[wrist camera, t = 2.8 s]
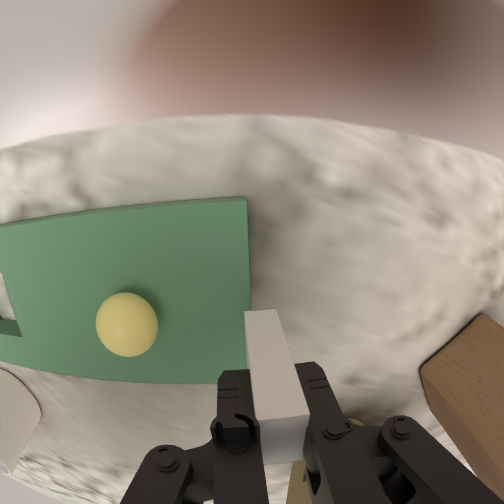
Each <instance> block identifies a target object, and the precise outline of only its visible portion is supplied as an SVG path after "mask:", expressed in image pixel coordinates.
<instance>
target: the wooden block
mask: <svg viewBox="0 0 504 504" xmlns="http://www.w3.org/2000/svg"><path fill="white" fill-rule="evenodd" d="M420 374H421V379H422V382H423V386H424V389H425V393H426V396H427V400H428V404H429V408H430V410H431V412H432V413H433V415H434V416H435V417H436V419H437V420H438V421H439V423H440V424H441V425H442V427H443V428H444V430H445V431H446V432H447V434H448V435H449V437H450V438H451V439H452V441H453V442H454V444H455V445H456V447H457V448H458V449H459V451H460V452H461V454H462V455H463V457H464V458H465V460H466V461H467V462H468V464H469V465H470V467H471V468H472V470H473V471H474V473H475V474H476V476H477V477H478V479H479V480H480V481H482V482H483V483H484V484H485V485H486V486H487V487H488V488H489V489H490V490H492V491H493V492H494V493H495V494H496V495H497V496H498V497H499V498H500V499H502V500H503V501H504V328H503V327H502V326H501V325H499V324H498V323H497V322H495V321H494V320H492V319H491V318H490V317H488V316H487V315H484V314H481V315H479V316H478V317H477V318H476V319H475V320H474V321H473V322H472V323H470V324H469V325H468V326H467V327H466V328H465V329H464V330H463V331H462V332H461V333H460V334H459V335H458V336H457V337H456V338H455V339H453V340H452V341H451V342H450V343H449V344H448V345H447V346H446V347H444V348H443V349H442V350H441V351H440V352H439V353H437V354H436V355H435V356H434V357H433V358H431V359H430V360H429V361H428V362H426V363H425V364H424V365H423V367H422V368H421V370H420Z"/></svg>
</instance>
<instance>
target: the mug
mask: <svg viewBox="0 0 504 504" xmlns="http://www.w3.org/2000/svg"><path fill="white" fill-rule="evenodd" d="M40 417H41V411H40V408H39V405H38V403H37V401H36V399H35V398H34V396H33V395H32V393H31V392H30V391H29V390H28V389H27V387H26V386H25V385H24V384H23V383H22V382H21V381H19V380H18V379H17V378H16V377H15V376H13V375H12V374H10V373H9V372H7V371H5V370H2V369H0V472H2V473H4V474H6V475H9V476H11V475H12V473H13V471H14V469H15V467H16V464H17V462H18V460H19V458H20V456H21V454H22V452H23V450H24V448H25V446H26V445H27V443H28V441H29V439H30V437H31V435H32V433H33V431H34V430H35V428H36V426H37V424H38V422H39V420H40Z"/></svg>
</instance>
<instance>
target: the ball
mask: <svg viewBox="0 0 504 504" xmlns="http://www.w3.org/2000/svg"><path fill="white" fill-rule="evenodd" d="M96 330H97V334H98V336H99V338H100V340H101V342H102V343H103V344H104V346H105V347H106V348H107V349H108V350H110V351H111V352H113V353H115V354H117V355H120V356H124V357H133V356H138V355H140V354H142V353H144V352H146V351H147V350H148V349H149V348H150V347H151V346H152V345H153V343H154V341H155V339H156V337H157V333H158V320H157V316H156V314H155V311H154V310H153V308H152V306H151V305H150V304H149V303H148V302H147V301H146V300H145V299H144V298H142V297H140V296H139V295H136V294H133V293H126V292H123V293H118V294H114V295H112V296H110V297H109V298H107V299H106V300H105V301H104V302H103V303H102V305H101V306H100V308H99V310H98V312H97V316H96Z"/></svg>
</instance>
